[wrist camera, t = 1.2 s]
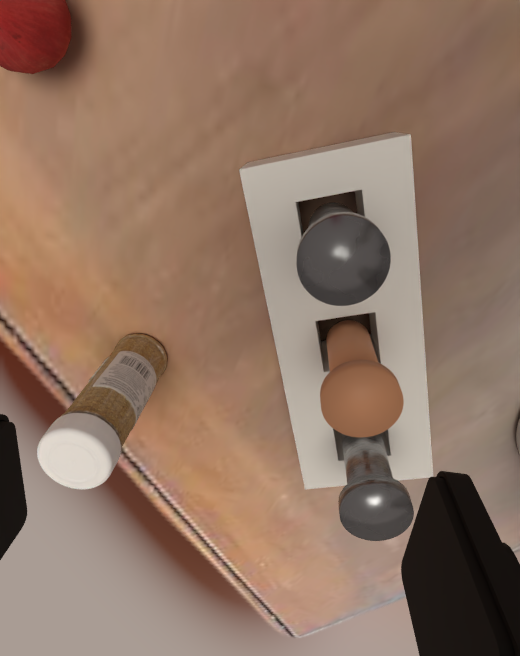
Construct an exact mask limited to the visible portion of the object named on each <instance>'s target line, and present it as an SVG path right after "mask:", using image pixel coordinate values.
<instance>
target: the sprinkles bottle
mask: <svg viewBox="0 0 520 656" xmlns="http://www.w3.org/2000/svg"><path fill="white" fill-rule="evenodd" d="M166 366H167V355H166V353H165V350H164V348H163V347H162V345H161V344H160V343H159V342H158V341H156V340H155V339H154V338H152V337H150V336H148V335H145V334H131V335H127V336H125V337H124V338H122V339H121V340H120V341H119V342H118V344H117V346H116V347H115V350H114V351H113V352H112V353H111V355H110V356H109V357H108V358H107V359H106V360H105V361H104V362H103V363H102V365H101V366H100V367H99V368H98V370H97V371H96V372H95V373H94V375H93V376H92V377H91V378H90V380H89V382H88V384H87V385H86V386H85V388H84V389H83V390H82V391H81V393H80V394H79V395H78V397H77V398H76V399H75V401H74V402H73V404H72V405H71V406H70V407H69V408H68V410H67V411H66V412H65V414H63V415H62V416H61V417H60V418H58V419H57V420H56V421H54V423H53V424H52V425H51V426H50V428H49V429H48V430H47V432H46V433H45V434H44V436H43V437H42V439H41V440H40V442H39V445H38V450H37V456H38V460H39V463H40V465H41V467H42V469H43V470H44V471H45V473H46V474H47V475H48V476H49V477H50V478H52V479H53V480H54V481H56V482H58V483H59V484H61V485H64V486H66V487H69V488H74V489H90V488H94V487H97V486H99V485H101V484H102V483H104V482H105V481H106V480H107V479H108V477H109V476H110V474H111V472H112V471H113V469H114V467H115V465H116V463H117V462H118V460H119V457H120V454H121V449H122V446H123V444H124V442H125V440H126V438H127V437H128V435H129V433H130V431H131V430H132V429H133V427H134V426H135V424H136V422H137V420H138V418H139V416H140V414H141V412H142V410H143V409H144V407H145V405H146V403H147V401H148V399H149V397H150V396H151V394H152V392H153V390H154V388H155V385H156V383H157V381H158V379H159V377H160V376H161V375H162V374H163V372H164V371H165V369H166Z"/></svg>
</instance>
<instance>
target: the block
mask: <svg viewBox="0 0 520 656" xmlns="http://www.w3.org/2000/svg"><path fill="white" fill-rule="evenodd" d="M239 171H240V176H241V181H242V186H243V191H244V196H245V200H246V205H247V210H248V215H249V220H250V225H251V229H252V234H253V239H254V244H255V249H256V254H257V258H258V263H259V268H260V273H261V278H262V283H263V288H264V292H265V297H266V302H267V307H268V312H269V317H270V321H271V326H272V331H273V336H274V341H275V346H276V350H277V355H278V360H279V365H280V370H281V375H282V380H283V384H284V389H285V394H286V399H287V404H288V409H289V413H290V418H291V423H292V428H293V433H294V438H295V442H296V447H297V452H298V457H299V462H300V467H301V472H302V476H303V481H304V486H305V489H314V488H324V487H335V486H345V485H347V478H346V470H345V462H344V454H343V447H342V439H341V433H340V432H338V431H336V430H335V429H333V428H332V427H331V426H330V425H329V424H328V423H327V422H326V420H325V418H324V416H323V414H322V411H321V402H320V389H321V385H322V383H323V381H324V379H325V377H326V376H327V375H328V373H329V372H330V369H329V361H328V352H327V343H326V341H321V339H320V333H319V327H318V321H319V320H326V319H333V318H339V317H346V316H353V315H359V314H366V313H369V320H370V329H371V334H369V335H370V338H371V341H372V344H373V347H374V351H375V354H376V357H377V360H378V363H380V364H382V365H384V366H386V367H387V368H388V369H390V370H391V371H392V373H393V374H394V375H395V376H396V378H397V380H398V383H399V386H400V388H401V391H402V394H403V399H404V404H403V410H402V413H401V415H400V417H399V418H398V420H397V421H396V422H395V424H394V425H393V426H391V427H390V428H389V429H387V430H386V431H384V432H382V437H383V441H384V445H385V449H386V453H387V457H388V461H389V464H390V468H391V472H392V476H393V478H394V479H395V480H397V481H398V480H408V479H419V478H429V477H433V466H432V451H431V435H430V420H429V405H428V390H427V374H426V359H425V344H424V328H423V313H422V298H421V282H420V267H419V252H418V237H417V221H416V206H415V191H414V175H413V160H412V145H411V134H405V133H398V132H392V133H387V134H382V135H378V136H373V137H368V138H363V139H358V140H353V141H349V142H344V143H339V144H334V145H329V146H324V147H319V148H315V149H310V150H305V151H300V152H295V153H290V154H286V155H281V156H276V157H271V158H266V159H261V160H257V161H252V162H248V163H246V164H245V165H244V166H243V167H242V168H240V169H239ZM352 191H355V198H356V207H357V214H360V215H362V216H364V217H366V218H368V219H369V220H371V221H372V222H373V223H374V224H375V225H376V226H377V227H378V228H379V229H380V231H381V232H382V234H383V235H384V237H385V238H386V240H387V242H388V245H389V249H390V254H391V262H390V269H389V272H388V275H387V277H386V279H385V281H384V283H383V284H382V286H381V287H380V288H379V289H378V290H377V292H376V293H374V294H373V295H372V296H371V297H369V298H368V299H366V300H364V301H362V302H360V303H357V304H353V305H349V306H334V305H329V304H326V303H323V302H321V301H319V300H317V299H316V298H314V297H313V296H312V295H310V294H309V293H308V292H307V291H306V289H305V288H304V287H303V285H302V283H301V281H300V279H299V276H298V272H297V265H296V262H297V249H298V245H299V242H300V240H301V238H302V236H303V228H302V222H301V216H300V210H299V204H298V202H299V201H304V200H310V199H315V198H320V197H325V196H331V195H336V194H341V193H346V192H352Z"/></svg>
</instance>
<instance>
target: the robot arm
mask: <svg viewBox="0 0 520 656" xmlns="http://www.w3.org/2000/svg"><path fill="white" fill-rule="evenodd" d="M26 516H27V505H26V499H25V491H24V484H23V478H22V470H21V464H20V457H19V449H18V442H17V436H16V429H15V425H14V424H13V423H12V422H9V419H8V417H7V416H6V415H2V414H0V560H1V558H2V557H3V555H4V554H5V552H6V551H7V549H8V548H9V546H10V545H11V543H12V542H13V540H14V539H15V538H16V536H17V535H18V533H19V531H20V530H21V528H22V527H23V525H24V523H25V520H26ZM401 573H402V581H403V585H404V589H405V594H406V598H407V602H408V607H409V611H410V616H411V620H412V624H413V628H414V633H415V637H416V642H417V646H418V651H419V655H420V656H520V564H519V562H518V560H517V558H516V556H515V554H514V553H513V551H512V550H511V548H510V547H509V546H508V545H507V544H505V543H502V542H501V540H500V537H499V535H498V533H497V531H496V529H495V527H494V525H493V523H492V521H491V519H490V517H489V515H488V513H487V511H486V509H485V507H484V504H483V502H482V500H481V498H480V496H479V494H478V492H477V490H476V488H475V486H474V484H473V482H472V480H471V478H470V477H469V476H468V475H467V474H461V473H453V472H445V471H440V472H439V473H438V474H437V477H430V478H429V480H428V482H427V486H426V489H425V492H424V495H423V498H422V501H421V504H420V507H419V510H418V513H417V517H416V520H415V523H414V526H413V529H412V532H411V535H410V538H409V541H408V544H407V548H406V551H405V554H404V557H403V560H402V566H401Z"/></svg>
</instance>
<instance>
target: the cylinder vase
mask: <svg viewBox="0 0 520 656" xmlns="http://www.w3.org/2000/svg"><path fill="white" fill-rule="evenodd" d="M516 442H517V448H518V451H519V454H520V419H519V422H518V426H517V432H516Z"/></svg>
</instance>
